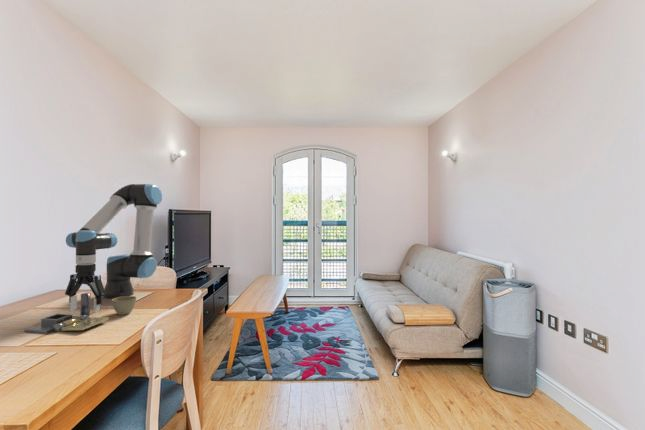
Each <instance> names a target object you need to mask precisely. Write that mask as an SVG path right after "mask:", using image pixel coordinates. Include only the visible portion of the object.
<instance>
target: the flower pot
mask: <svg viewBox="0 0 645 430" xmlns="http://www.w3.org/2000/svg"><path fill="white" fill-rule="evenodd" d="M111 302H112V303H111V305H112V308H113V309H114V311H115V312H116V314H117V315H118V316H125V315H129V314H131V313H132V311H133V309H134V308H135V305H136V302H137V296H135V295H129V296H123V297H117V298H111Z"/></svg>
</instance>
